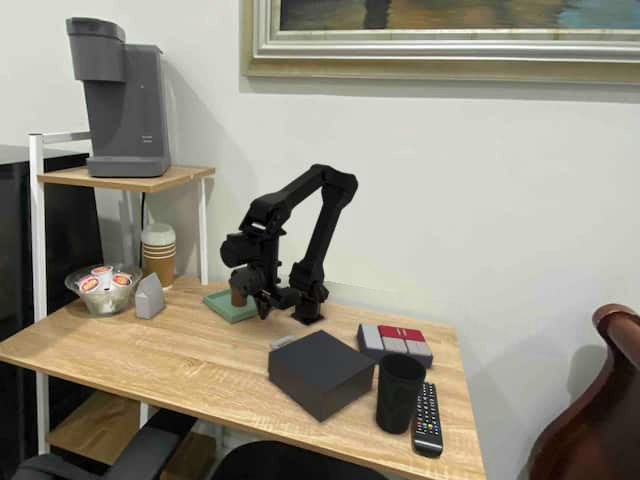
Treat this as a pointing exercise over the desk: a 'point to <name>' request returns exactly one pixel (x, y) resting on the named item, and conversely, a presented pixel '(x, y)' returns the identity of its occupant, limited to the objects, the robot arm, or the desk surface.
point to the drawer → (281, 342)
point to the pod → (237, 301)
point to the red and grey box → (393, 343)
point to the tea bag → (149, 297)
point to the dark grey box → (321, 373)
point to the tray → (230, 306)
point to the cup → (398, 391)
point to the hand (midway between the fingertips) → (262, 319)
